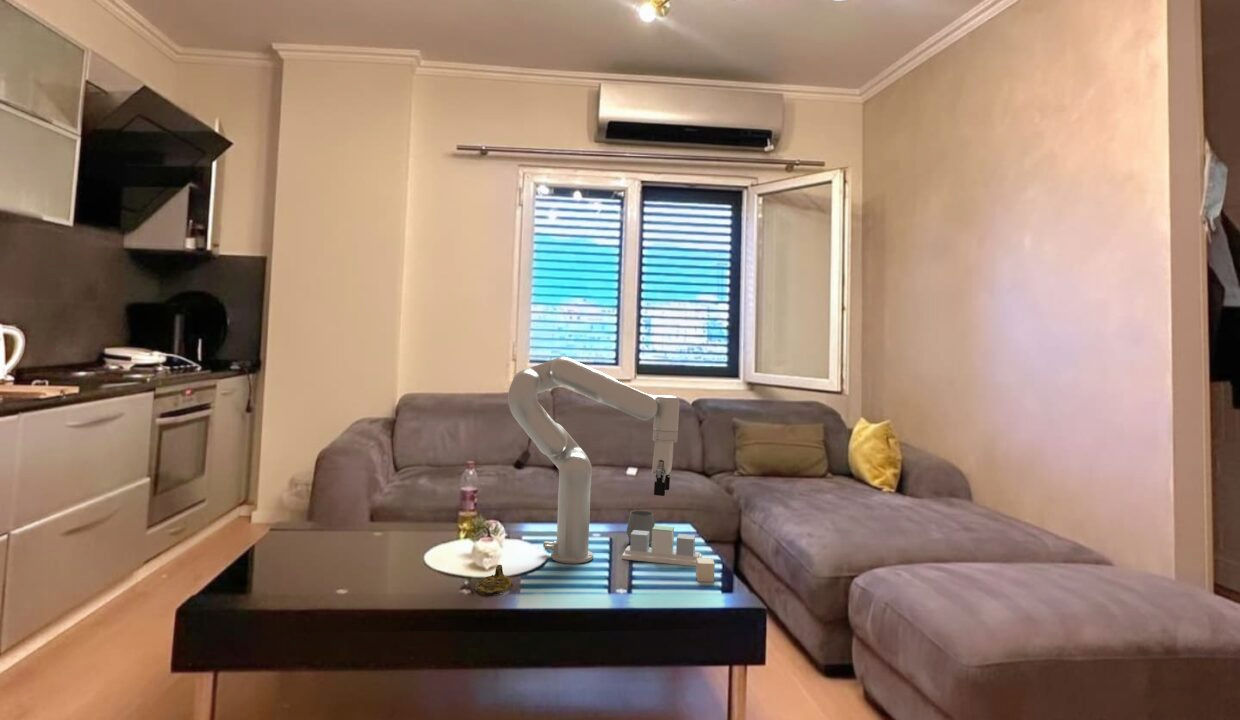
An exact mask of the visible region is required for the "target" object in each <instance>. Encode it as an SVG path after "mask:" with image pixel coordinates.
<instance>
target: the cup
mask: <svg viewBox="0 0 1240 720" xmlns="http://www.w3.org/2000/svg"><path fill="white" fill-rule="evenodd" d="M628 517H629V518H628V522H627V527H626V535H627V537H628V539H629V540H630V537H631V533H632V531H633V530H640V531H650V533H649V545H650V544H652V529H653V527H654V526H656V525H655V519H654V512H652V511H649V510H631V511H630V513H629V516H628Z"/></svg>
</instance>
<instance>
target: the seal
mask: <svg viewBox="0 0 1240 720" xmlns="http://www.w3.org/2000/svg"><path fill="white" fill-rule="evenodd" d="M513 584H514V582H513V580H512V578H510V577H509V576H507V575H505V574H504V571H503V565H502V564H497V565H496V566H495V572H494V574H492V575H489V576H486V577H485V576H484V577H483V578H481V579H480V580H478V581H477V582H476V583H475V585H474V591H475V592H477V593H478V594H479V595H481V596H483V595H484V597H489V596H495V595H494V594H499V595H501V594H500V593H503V594H505V593H508V592H509V591H510V590H512V587H513V586H514V585H513Z"/></svg>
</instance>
